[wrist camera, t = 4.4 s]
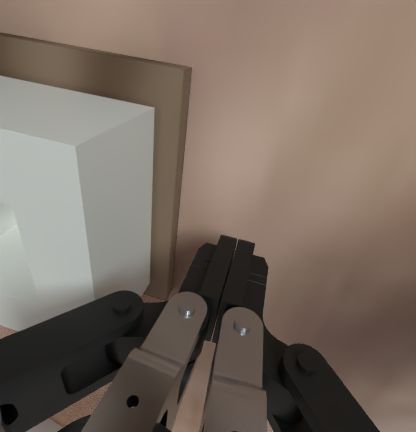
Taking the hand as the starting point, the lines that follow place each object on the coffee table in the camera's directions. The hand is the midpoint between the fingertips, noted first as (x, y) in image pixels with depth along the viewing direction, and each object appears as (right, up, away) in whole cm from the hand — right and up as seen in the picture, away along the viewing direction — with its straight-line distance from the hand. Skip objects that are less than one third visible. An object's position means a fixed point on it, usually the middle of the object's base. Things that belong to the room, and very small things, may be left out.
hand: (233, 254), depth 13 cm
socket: (-9, +3, +2) cm, 9 cm away
